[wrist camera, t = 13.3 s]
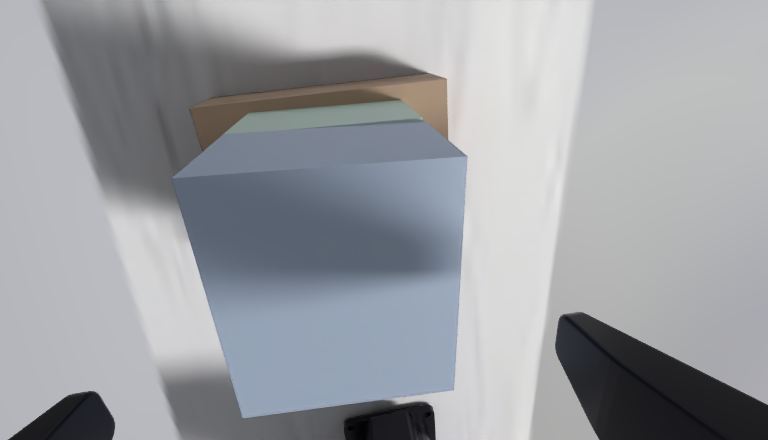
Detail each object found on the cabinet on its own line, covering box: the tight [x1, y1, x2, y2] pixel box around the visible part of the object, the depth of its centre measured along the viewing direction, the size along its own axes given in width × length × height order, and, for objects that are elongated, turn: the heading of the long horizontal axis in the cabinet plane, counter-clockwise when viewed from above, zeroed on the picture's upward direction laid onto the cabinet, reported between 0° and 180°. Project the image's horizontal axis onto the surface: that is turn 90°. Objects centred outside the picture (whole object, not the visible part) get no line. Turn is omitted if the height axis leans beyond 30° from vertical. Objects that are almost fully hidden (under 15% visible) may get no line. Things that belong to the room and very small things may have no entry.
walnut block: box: [189, 73, 448, 151], centre depth 18 cm, size 8×10×3 cm
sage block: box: [224, 100, 423, 134], centre depth 15 cm, size 7×6×4 cm
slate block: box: [171, 121, 467, 418], centre depth 11 cm, size 7×6×4 cm
